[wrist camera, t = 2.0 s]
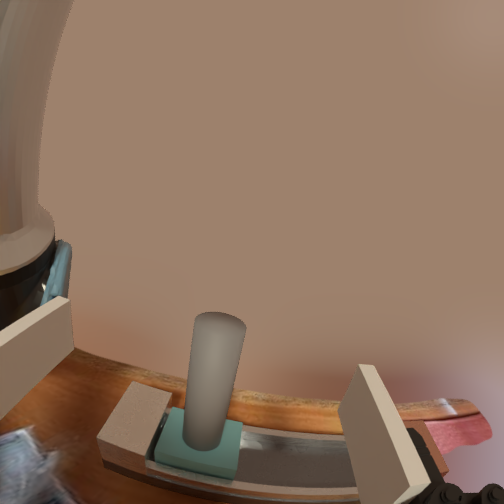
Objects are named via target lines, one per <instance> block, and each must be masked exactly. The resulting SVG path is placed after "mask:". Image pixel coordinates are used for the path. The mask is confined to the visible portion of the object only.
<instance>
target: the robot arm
mask: <svg viewBox="0 0 504 504" xmlns="http://www.w3.org/2000/svg"><path fill="white" fill-rule="evenodd" d="M73 2H74V0H0V420H1V419H2V418H3V417H4V416H5V415H6V414H7V413H8V412H9V411H10V410H11V409H12V408H13V407H14V406H15V405H16V404H17V403H18V402H19V401H20V400H21V399H22V398H23V397H24V396H25V395H26V394H27V393H28V392H29V391H30V390H31V389H32V388H33V387H34V386H35V385H37V384H38V383H39V382H40V381H41V380H42V379H43V378H44V377H45V376H46V375H47V374H48V373H49V372H50V371H51V370H52V369H53V368H54V367H56V366H57V365H58V364H59V363H60V362H61V361H62V360H63V359H64V358H65V357H66V356H67V355H68V354H70V353H71V352H72V351H73V350H74V341H73V331H72V320H71V303H70V300H69V299H68V288H69V279H70V270H71V259H72V247H71V245H70V244H69V243H67V242H64V241H63V240H58V241H55V228H54V221H53V218H52V216H51V215H50V213H49V212H48V211H47V210H46V209H44V208H43V207H42V206H41V205H40V204H38V176H39V158H40V144H41V135H42V126H43V119H44V112H45V105H46V99H47V94H48V89H49V84H50V79H51V74H52V70H53V66H54V62H55V58H56V54H57V50H58V46H59V43H60V40H61V37H62V33H63V30H64V27H65V24H66V21H67V18H68V15H69V13H70V10H71V7H72V4H73ZM338 414H339V418H340V421H341V425H342V429H343V433H344V437H345V440H346V444H347V448H348V452H349V456H350V460H351V464H352V468H353V472H354V477H355V481H356V485H357V489H358V494H359V498H360V502H361V504H504V489H503V488H502V487H501V486H499V485H497V484H488V485H487V486H485V487H484V488H483V489H482V490H481V491H480V492H479V493H463V491H462V490H461V489H460V488H459V487H458V486H456V485H454V484H451V483H445V482H444V480H443V477H442V475H441V473H440V471H439V469H438V467H437V465H436V463H435V461H434V459H433V457H432V455H430V451H429V449H428V447H426V446H427V445H426V443H425V441H424V439H423V437H422V436H421V435H420V434H419V433H418V432H417V431H416V430H415V429H414V428H405V425H404V423H403V421H402V419H401V417H400V415H399V413H398V411H397V409H396V407H395V405H394V403H393V402H392V400H391V398H390V396H389V394H388V392H387V390H386V388H385V386H384V384H383V382H382V380H381V378H380V377H379V375H378V373H377V371H376V369H375V367H374V366H373V365H363V364H358V366H357V368H356V371H355V373H354V375H353V378H352V380H351V382H350V384H349V387H348V389H347V391H346V393H345V395H344V398H343V400H342V402H341V404H340V406H339V408H338Z"/></svg>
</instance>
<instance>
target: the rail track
mask: <svg viewBox="0 0 504 504" xmlns="http://www.w3.org/2000/svg"><path fill="white" fill-rule="evenodd" d="M171 405H172V393H170V392H167V391H163V390H160V389H156V388H153V387H150V386H147V385H144V384H140V383H137V382H134V381H132V382H131V384H130V385H129V387H128V389H127V390H126V392H125V393H124V395H123V396H122V398H121V399H120V401H119V402H118V404H117V406H116V407H115V409H114V410H113V412H112V413H111V415H110V416H109V418H108V420H107V421H106V423H105V424H104V426H103V427H102V429H101V431H100V432H99V434H98V435H97V437H96V438H97V442H98V446H99V449H100V453H101V456H102V460H103V463H104V466H105V468H107V469H110V470H112V471H114V472H117V473H119V474H122V475H125V476H127V477H130V478H133V479H136V480H138V481H141V482H144V483H147V484H150V485H154V486H157V487H160V488H164V489H167V490H171V491H174V492H178V493H182V494H186V495H190V496H194V497H199V498H204V499H208V500H214V501H219V502H225V503H231V504H361V502H360V498H359V494H358V489H357V485H356V481H355V477H354V472H353V468H352V464H351V460H350V456H349V452H348V448H347V444H346V440H345V437H344V435H326V434H311V433H299V432H290V431H281V430H273V429H266V428H259V427H253V426H247V425H242V433H241V441H240V449H239V457H238V465H237V471H236V474H235V477H234V480H227V479H222V478H216V477H211V476H206V475H202V474H197V473H193V472H189V471H185V470H181V469H177V468H174V467H170V466H167V465H163V464H160V463H157V462H155V453H154V450H155V448H156V445H157V443H158V440H159V438H160V436H161V433H162V431H163V428H164V426H165V424H166V421H167V419H168V416H169V414H170V412H171ZM403 423H404V425H405V428H414V429H415V430H416V431H417V432H418V433H419V434H420V435H421V436H422V437H423V439H424V441H425V443H426V445H427V446H426V447H428V449H429V451H430V455H432V457H433V459H434V461H435V463H436V465H437V467H438V469H439V471H440V473H441V475H442V477H444V476H445V475H446V474H447V473H448V472H449V469H448V467H447V465H446V463H445V461H444V459H443V457H442V455H441V453H440V451H439V449H438V447H437V446H436V444H435V442H434V440H433V438H432V436H431V434H430V432H429V430H428V429H427V427H426V425H425V423H424V421H423V420H422V421H403Z"/></svg>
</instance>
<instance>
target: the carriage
mask: <svg viewBox="0 0 504 504" xmlns="http://www.w3.org/2000/svg"><path fill="white" fill-rule="evenodd" d="M245 332H246V325H245V324H244V323H243V321H241V320H240V319H238V318H237V317H235V316H232V315H229V314H226V313H221V312H205V313H202V314H199V315H198V316H197V317H196V318H195V322H194V329H193V337H192V345H191V353H190V362H189V370H188V379H187V388H186V398H185V408H184V409H180V408H176V407H172V409H171V412H170V414H169V416H168V419H167V421H166V424H165V426H164V428H163V431H162V433H161V436H160V438H159V440H158V443H157V445H156V448H155V450H154V453H155V462H157V463H160V464H163V465H167V466H170V467H174V468H177V469H181V470H185V471H189V472H193V473H197V474H202V475H206V476H211V477H216V478H222V479H227V480H234V477H235V474H236V471H237V465H238V457H239V449H240V441H241V433H242V425H243V422H237V421H232V420H227V419H226V417H227V412H228V408H229V404H230V399H231V395H232V390H233V385H234V381H235V377H236V373H237V368H238V364H239V360H240V355H241V351H242V346H243V342H244V337H245Z"/></svg>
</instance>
